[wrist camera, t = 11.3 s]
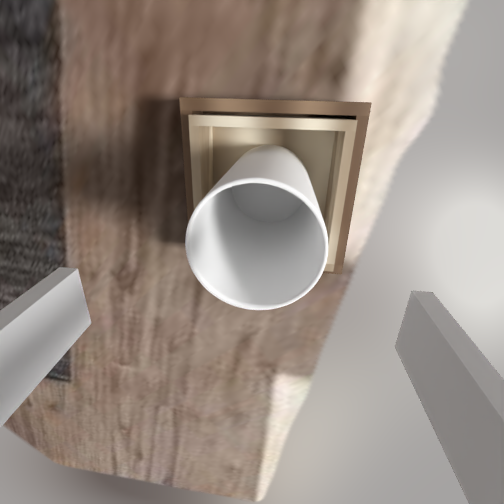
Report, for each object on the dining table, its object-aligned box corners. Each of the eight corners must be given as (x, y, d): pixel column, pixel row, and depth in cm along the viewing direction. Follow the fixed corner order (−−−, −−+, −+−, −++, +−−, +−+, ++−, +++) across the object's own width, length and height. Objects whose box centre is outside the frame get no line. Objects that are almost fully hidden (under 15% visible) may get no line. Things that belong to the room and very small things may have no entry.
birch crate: (210, 238, 36) (196, 262, 30) (205, 113, 30) (188, 114, 25) (325, 246, 35) (333, 271, 29) (344, 118, 29) (357, 120, 24)
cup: (256, 236, 34) (236, 329, 20) (214, 173, 32) (155, 227, 17) (323, 199, 32) (354, 275, 17) (283, 127, 29) (281, 146, 15)
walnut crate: (201, 244, 37) (190, 263, 33) (194, 98, 31) (179, 97, 26) (334, 253, 36) (341, 274, 32) (358, 103, 29) (371, 102, 25)
